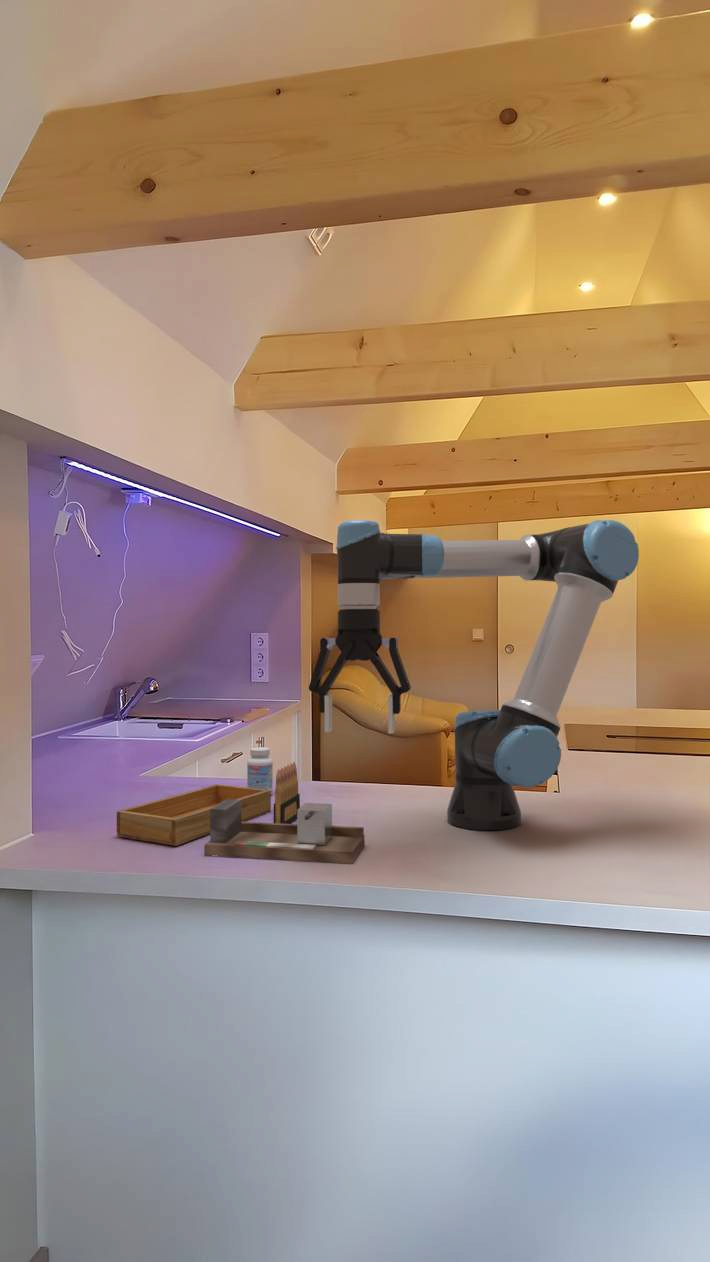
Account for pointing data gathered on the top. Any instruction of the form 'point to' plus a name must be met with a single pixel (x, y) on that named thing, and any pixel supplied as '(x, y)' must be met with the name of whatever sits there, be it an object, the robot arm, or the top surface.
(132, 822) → the tray
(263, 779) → the pill bottle
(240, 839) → the brown tray with block
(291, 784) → the ammunition clip
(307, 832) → the cube with dark rod
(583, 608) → the robot arm
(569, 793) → the top surface
